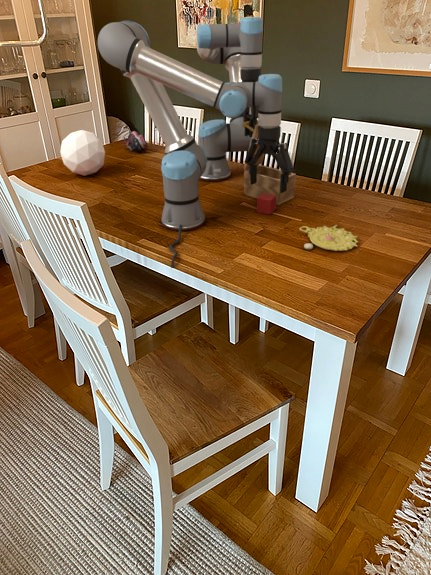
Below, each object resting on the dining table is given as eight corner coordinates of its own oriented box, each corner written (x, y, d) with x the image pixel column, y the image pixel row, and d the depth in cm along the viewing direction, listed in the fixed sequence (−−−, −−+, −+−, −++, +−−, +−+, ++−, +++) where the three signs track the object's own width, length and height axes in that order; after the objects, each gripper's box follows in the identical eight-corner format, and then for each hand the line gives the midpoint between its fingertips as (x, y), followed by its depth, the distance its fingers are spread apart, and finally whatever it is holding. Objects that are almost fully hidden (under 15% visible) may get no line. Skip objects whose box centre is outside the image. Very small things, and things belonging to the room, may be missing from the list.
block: (275, 209, 164) (276, 195, 161) (270, 214, 160) (270, 200, 157) (262, 206, 166) (262, 193, 163) (256, 211, 162) (256, 198, 159)
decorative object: (343, 255, 128) (285, 234, 139) (342, 262, 130) (284, 241, 140) (372, 230, 142) (317, 213, 152) (371, 237, 143) (316, 219, 153)
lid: (274, 121, 165) (259, 111, 168) (257, 126, 159) (241, 115, 162) (261, 164, 177) (247, 154, 181) (245, 170, 172) (230, 159, 175)
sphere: (92, 190, 205) (77, 164, 186) (61, 170, 209) (44, 142, 190) (118, 162, 209) (107, 134, 191) (87, 142, 214) (73, 113, 195)
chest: (294, 197, 173) (295, 173, 168) (278, 205, 167) (279, 180, 162) (260, 187, 183) (260, 164, 178) (243, 194, 177) (244, 170, 172)
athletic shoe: (136, 131, 245) (115, 136, 241) (146, 124, 225) (123, 129, 221) (142, 152, 248) (122, 157, 244) (152, 146, 228) (130, 152, 224)
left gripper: (307, 128, 141) (303, 192, 153) (248, 119, 157) (248, 177, 168) (293, 133, 137) (289, 198, 148) (234, 123, 152) (235, 182, 164)
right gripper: (274, 68, 155) (271, 137, 167) (242, 65, 164) (242, 131, 176) (260, 70, 150) (258, 141, 163) (228, 67, 159) (229, 134, 172)
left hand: (268, 187), depth 158 cm, fingers open, 13 cm apart
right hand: (249, 135), depth 170 cm, fingers closed on lid, 2 cm apart
